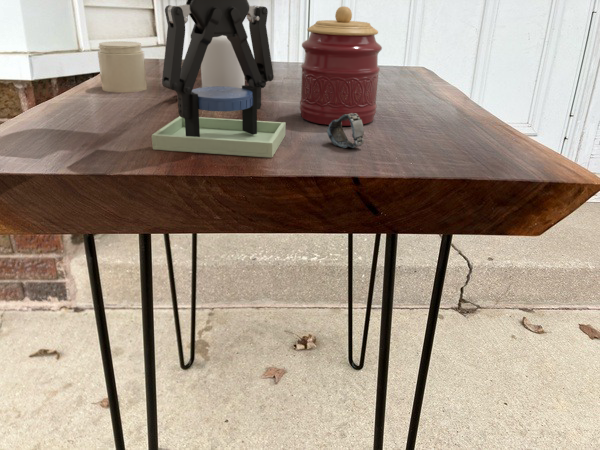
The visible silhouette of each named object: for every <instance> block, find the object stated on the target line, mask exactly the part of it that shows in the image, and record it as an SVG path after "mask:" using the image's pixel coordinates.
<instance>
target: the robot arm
mask: <svg viewBox="0 0 600 450" xmlns="http://www.w3.org/2000/svg"><path fill="white" fill-rule="evenodd" d="M164 13H165V18H166V23H167V31H166V39H165V40H166V41H165V51H164V60H163V69H162V79H161V85H162V86H163V87H164V88H166V89H168V90H172V91H174V92H176V95H177V109H178V115H179V116H180V117H182V118H184V119H185V132H186V136H192V137H200V128H199V117H200V109H199V107H198V94H196V93H193V92H192V90H193V89H194V86H195V84H196V81H197V78H198V75H199V73H200V70H201V64H202V61H203V58H204V55H205V52H206V49H207V47H208V45H209V44H210V43H211V41H212V38H213V37H219V36H222V35H223V36H226V37H227V39H228V40H229V41H230V42H231V45H232V47H233V49H234V52H235V54H236V57H237V59H238V62H239V64H240V67H241V69H242V71H243V74H244V76H245V81H246V83H247V84H248V85H247V84H245V85H243V86H242V88H244V89H247V90H250V91H252V95H253V105H252V107H250V108H247V109H244V110H241V113H242V114H241V117H242V118H241V120H242V127H243V131H245V132H247V133H250V134H252V135H254V134H257V121H258V110H261V107H262V89H264V88H265V87H266V86H267V82H272V81H273V80H274V79H275V78H274V70H273V63H272V62H273V61H272V57H271V50H270V43H269V35H268V29H267V22H268V13H269V10H268V8H267V7H266V6H262V5H251V4H250V3H249V2H248V0H186V3H184V4H180V5H170V4H169V5H166V6H165V8H164ZM188 16H189V17H190V18H191V20H192V21H193V27H192V29H191V33H190V42H189V44H188V47H187V50H186V53H185V56H184V59H183V55H184V48H185V47H184V45H185V37H186V24H187V22H188V21H189V18H188ZM246 19H247V22H248V27H249V28H248V29H249V34H250V41H251V46H252V47H250V43H249V42H248V34H247V31H246V29H245V26H244V24H243V23H244V22H245V20H246ZM251 48H252V49H251Z"/></svg>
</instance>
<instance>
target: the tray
mask: <svg viewBox="0 0 600 450" xmlns="http://www.w3.org/2000/svg"><path fill="white" fill-rule="evenodd" d="M286 123H287V122H284V121H283V122H281V121H270V120H269V121H267V120H265V121H264V120H257V134H254V135H252V134H250V133H247V132H245V131H243V127H242V119H237V118H236V119H235V118H219V117H218V118H217V117H202V116H199V128H200V137H192V136H186V132H185V119H184V118H182V117H180V115H179V116H178V117H176V118H174V119H173V120H172V121H170V122H169V123H167V124H165V125H164V126H163V127H161V128H160V129H158V130H157V131H155V132H154V133H152V134H151V145H152V150H153V151H155V150H156V151H169V152H181V153H182V152H183V153H197V154H198V153H199V154H214V155H227V156H238V157H239V156H240V157H254V158H255V157H256V158H271V159H272V158H274V156H275V153H276V152H277V151H278V149H279V147H280V146H281V144H282V143H283V140H284V138H285V137H286V130H287V129H286V127H287V125H286Z"/></svg>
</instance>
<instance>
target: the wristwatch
mask: <svg viewBox="0 0 600 450" xmlns="http://www.w3.org/2000/svg"><path fill="white" fill-rule="evenodd" d="M347 119H349V121H350V123H351V126H350V127H351V128H350V129H351V133H352V134H351V136H352V140H353V142H351V141H350V140H349V138H348V136H347V135H346V133H345V131H344V129H343V126H342V123H341V121H343V120H345V121H347ZM326 133H327V136H328V139H329V140H330V142H331V143H332V144H333V145H334V146H338V147H339V148H343V149H347V148H351V149H354V148H358V147H361V146H362V145H363V144H364V143H365V139H364V136H365V128H364V124H363V123H362V120H361V119H360V117H359V116H358V114H356V113H354V114H353V113H351V114H344V115H343V116H341V117H340V118H339V119H337V120H333V121H332V122H331V123H330V124H329V125H328V127H327V130H326Z"/></svg>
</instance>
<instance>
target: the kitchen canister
mask: <svg viewBox="0 0 600 450" xmlns="http://www.w3.org/2000/svg"><path fill="white" fill-rule="evenodd" d="M334 15H335V16H334V19H333V20H332V19H329V20H328V19H327V20H326V19H325V20H324V19H323V20H317V21H315V23H314V24H313V25H310V26H309V27H308V28H306V29H307V32H309V33H310V34H309V36H308V38H307V39H306V40H304V41H303V42H302V43H301V47H302V49H303V50H304V58H303V62H302V63H301V64H300V68H301V89H300V90H301V91H300V100H299V110H300V117H301V118H302V119H303V120H305V121H307V122H310V123H314V124H319V125H325V126H329V124H330V123H331V122H332V121H333V120H337V119H339V118H340V117H341V116H343V115H344V114H351V113H353V114H354V113H356V114H358V116H359V117H360V119H361V120H362V123H363V125H367V124H370V123H372V122H374V120H375V116H376V113H377V107H378V106H377V94H378V85H379V84H378V83H379V73H380V71H381V68H380V66H379V64H378V63H379V62H378V61H379V53H380V52H381V51H382V49H383V46H382V45H381V44H379V43H378V42H377V40H376V36H375V35H378V34H379V30H377V29H376V28H375V27H373V26H372V25H371V23H370V22H367V21H357V20H356V21H355V20H352V18H353V13H352V10H351V8H350V7H348V6H346V5H345V6H344V5H343V6H339V7H338V8H337V9H336V11H335V14H334ZM341 123H342V127H351V123H350V121H349V119H347V121H345V120H343V121H341Z"/></svg>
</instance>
